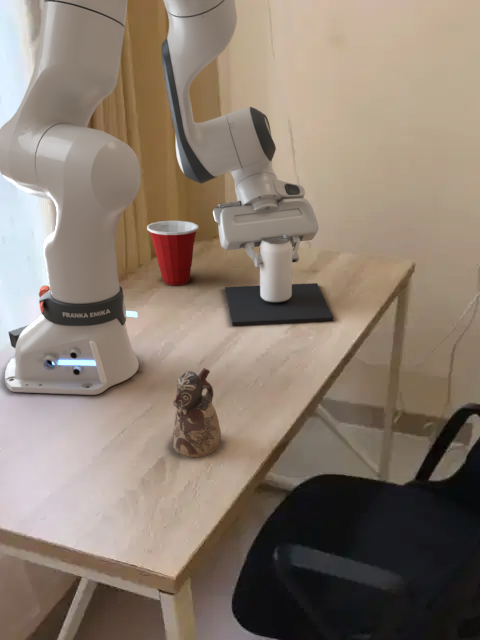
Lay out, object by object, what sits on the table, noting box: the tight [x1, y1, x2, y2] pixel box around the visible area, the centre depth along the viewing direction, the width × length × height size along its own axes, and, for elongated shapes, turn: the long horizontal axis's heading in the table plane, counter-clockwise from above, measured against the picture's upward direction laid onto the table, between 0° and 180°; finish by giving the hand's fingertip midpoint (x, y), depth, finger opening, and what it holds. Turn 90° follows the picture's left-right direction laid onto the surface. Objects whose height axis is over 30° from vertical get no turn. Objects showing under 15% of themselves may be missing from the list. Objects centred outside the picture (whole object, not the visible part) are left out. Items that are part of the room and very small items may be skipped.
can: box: [259, 235, 293, 303], centre depth 150 cm, size 6×6×12 cm
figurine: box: [171, 367, 222, 458], centre depth 108 cm, size 7×7×12 cm
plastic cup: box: [146, 220, 199, 286], centre depth 160 cm, size 11×11×12 cm
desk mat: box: [224, 282, 334, 327], centre depth 153 cm, size 20×18×1 cm
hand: (277, 263), depth 149 cm, fingers closed on can, 6 cm apart
